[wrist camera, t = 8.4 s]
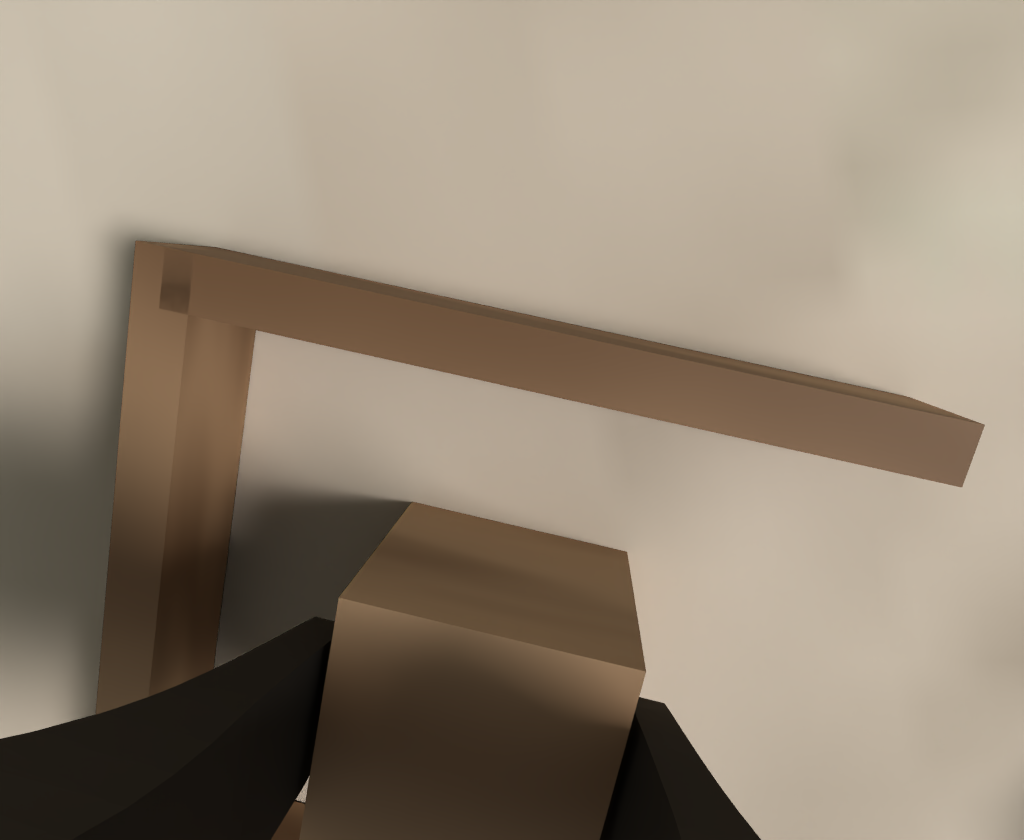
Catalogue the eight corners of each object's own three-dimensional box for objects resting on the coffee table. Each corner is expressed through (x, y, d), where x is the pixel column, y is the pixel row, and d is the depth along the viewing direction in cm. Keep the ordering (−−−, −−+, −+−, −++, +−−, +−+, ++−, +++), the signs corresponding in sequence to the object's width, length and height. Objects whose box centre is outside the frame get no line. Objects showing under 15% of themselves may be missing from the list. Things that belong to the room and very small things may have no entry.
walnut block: (578, 738, 15) (575, 926, 11) (378, 689, 15) (297, 853, 11) (626, 549, 14) (646, 671, 10) (413, 500, 14) (338, 597, 10)
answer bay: (720, 953, 16) (745, 1077, 13) (155, 801, 16) (80, 891, 14) (909, 397, 13) (984, 424, 10) (216, 247, 14) (135, 240, 11)
